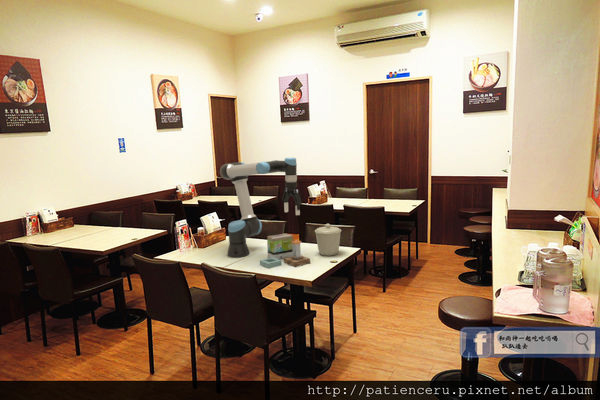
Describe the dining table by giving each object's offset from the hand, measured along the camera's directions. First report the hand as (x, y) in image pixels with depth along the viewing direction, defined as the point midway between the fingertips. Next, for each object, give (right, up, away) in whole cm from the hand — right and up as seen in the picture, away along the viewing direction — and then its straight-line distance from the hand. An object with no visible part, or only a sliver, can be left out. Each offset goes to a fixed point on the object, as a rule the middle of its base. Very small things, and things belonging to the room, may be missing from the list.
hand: (291, 213), depth 264 cm
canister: (+25, -28, +10) cm, 39 cm away
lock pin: (+3, -31, -8) cm, 33 cm away
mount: (-13, -32, -10) cm, 36 cm away
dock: (+4, -31, -8) cm, 32 cm away
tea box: (-8, -30, +7) cm, 32 cm away
